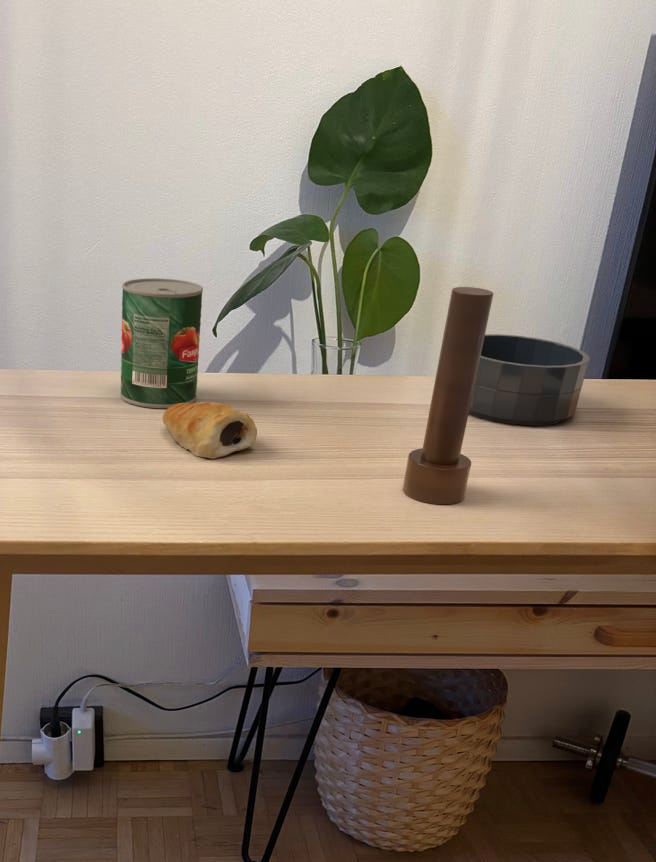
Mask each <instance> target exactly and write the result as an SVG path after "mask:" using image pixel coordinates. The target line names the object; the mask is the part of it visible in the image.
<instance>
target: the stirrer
mask: <svg viewBox="0 0 656 862" xmlns="http://www.w3.org/2000/svg"><path fill="white" fill-rule="evenodd" d="M493 298H494V292H493V291H492V290H489V289H485V288H481V287H473V286H457V287H453V288H452V289H451V293H450V298H449V303H448V308H447V314H446V320H445V325H444V331H443V336H442V342H441V346H440V352H439V358H438V363H437V368H436V374H435V378H434V379H435V380H434V385H433V390H432V395H431V401H430V406H429V411H428V417H427V423H426V428H425V432H424V433H425V434H424V439H423V444H422V448H417V449H413V450H411V451H410V452H409V453H408V455H407V460H406V461H407V462H406V468H405V473H404V478H403V484H402V491H403V493H404V494H405V495H406V496H407V497H409V498H411V499H414V500H416V501H419V502H423V503H426V504H431V505H454V504H457V503H460V502H462V501H463V500H464V498H465V496H466V492H467V491H466V490H467V486H468V481H469V478H470V471H471V469H472V468H471V467H472V460H471V459H470V458H469V457H468V456H467V455H464V454H462V453H461V452H462V448H463V442H464V438H465V434H466V429H467V425H468V424H467V423H468V418H469V415H470V414H469V409H470V405H471V400H472V395H473V390H474V385H475V380H476V376H477V371H478V366H479V361H480V356H481V351H482V347H483V342H484V337H485V334H486V332H487V326H488V321H489V316H490V312H491V307H492V303H493Z"/></svg>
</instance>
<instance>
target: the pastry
mask: <svg viewBox="0 0 656 862" xmlns="http://www.w3.org/2000/svg"><path fill="white" fill-rule="evenodd" d="M162 423H163V424H164V425H165V427H166V429H167V431H168V433H169V434H170V436H171V437H172V438H173V441H174V442H175V443H177V444H178V445H179V446H180V447H182V448H183V449H185V450H188V451H190V453H191V454H193V455H194V456H197V457H201V458H208V459H212V460H214V459H217V458H223V457H226V456H229V455H231V454H232V453H234V452H239V451H243V450H245V449H248V448H250V447H251V446H252V445H253V444H254V443H256V440H257V437H258V428H257V426H256V424H255V421H254V419H253V418H252V417H250V415H249V414H248V413H247V412H240V411H239V410H237V409H234V408H233V407H232V406H230V405H229V404H223V403H220V402H210V401H204V402H194V403H177V404H175V405H173V406H171V407H169V408H166V409H165V411H164V413H163V414H162Z"/></svg>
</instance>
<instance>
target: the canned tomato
mask: <svg viewBox="0 0 656 862" xmlns="http://www.w3.org/2000/svg"><path fill="white" fill-rule="evenodd" d="M121 288H122V297H121V298H122V301H121V307H122V308H121V351H120V352H121V353H120V354H121V358H120V359H121V360H120V363H121V364H120V392H119V396H120V398H121V399H122V401H124V402H126V403H129V404H130V405H134V406H137V407H143V408H150V409H168V408H169V407H171V406H173V405H175V404H177V403H196V401H197V398H198V396H197V387H198V373H199V372H198V371H199V369H198V368H199V359H200V357H199V356H200V355H199V354H200V353H199V352H200V341H201V339H200V336H201V326H202V325H201V324H202V323H201V319H202V308H203V307H202V306H203V305H202V303H203V291H204V287H203V286H202V285H200V284H199V283H196V282H192V281H187V280H182V279H173V278H156V277H155V278H154V277H153V278H152V277H149V278H136V279H130V280H126V281H124V282H123V283H122V284H121Z"/></svg>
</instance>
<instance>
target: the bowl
mask: <svg viewBox="0 0 656 862" xmlns="http://www.w3.org/2000/svg"><path fill="white" fill-rule="evenodd" d="M589 362H590V356H589V355H588V354H587V353H586V352H585V351H583V350H581V349H578V348H577V347H574V346H571V345H568V344H565V343H562V342H558V341H553V340H549V339H545V338H544V339H543V338H539V337H538V338H537V337H531V336H523V335H515V334H501V333H499V334H497V333H496V334H495V333H491V334H490V333H485V337H484V342H483V347H482V351H481V356H480V361H479V366H478V371H477V376H476V380H475V385H474V390H473V395H472V400H471V405H470V409H469V414H468V415H470V416H473V417H476V418H479V417H480V418H479V419H483V420H486V419H487V420H486V421H491V420H492V421H491V422H496V421H497V422H496V423H503V424H508V423H509V425H518V424H522V425H521V426H546V425H554V424H558V423H562V422H563V421H565V420H567V419H568V418H570V417H572V416H574V415H575V414H576V411H577V406H578V403H579V399H580V395H581V392H582V388H583V386H584V385H583V384H584V381H585V377H586V373H587V369H588V365H589Z"/></svg>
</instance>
